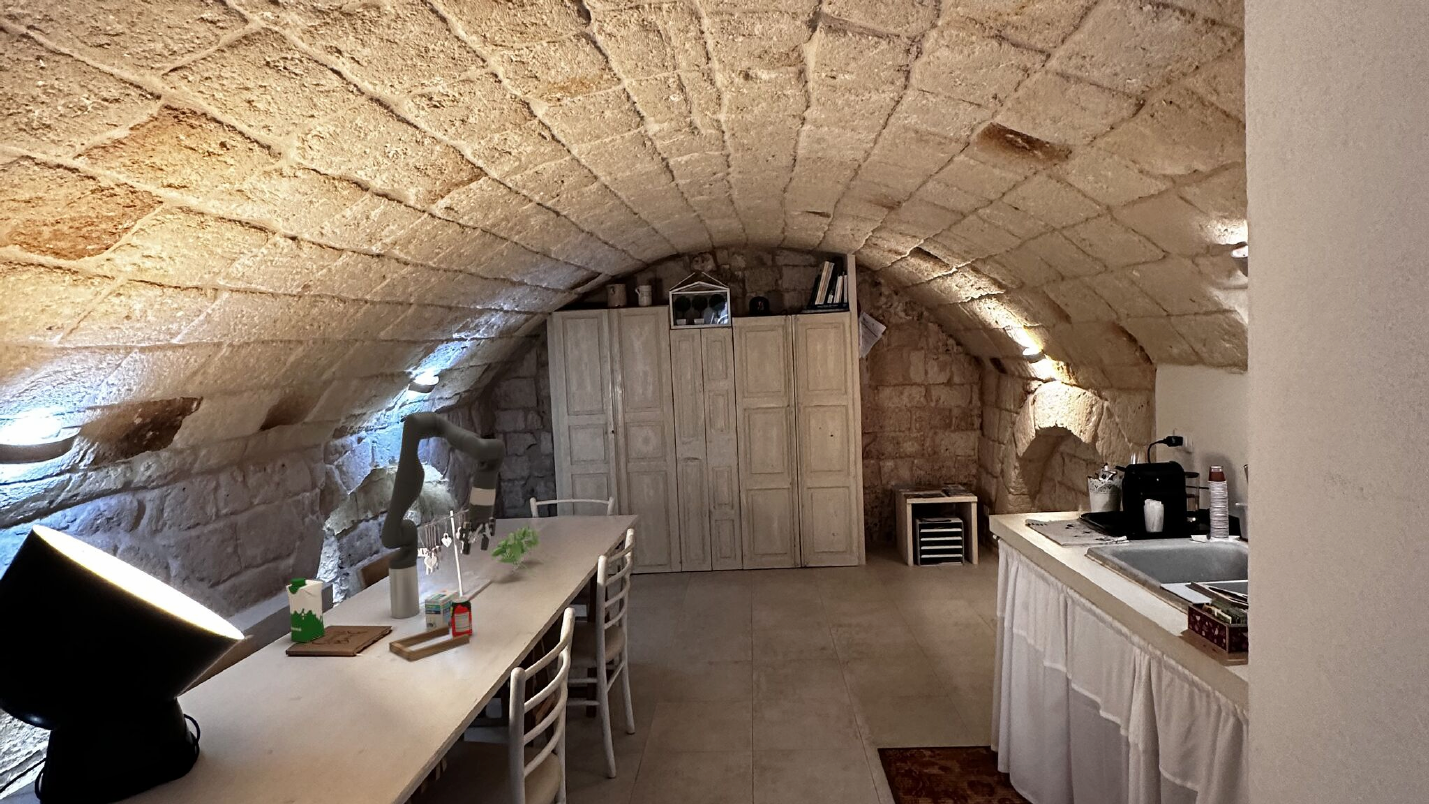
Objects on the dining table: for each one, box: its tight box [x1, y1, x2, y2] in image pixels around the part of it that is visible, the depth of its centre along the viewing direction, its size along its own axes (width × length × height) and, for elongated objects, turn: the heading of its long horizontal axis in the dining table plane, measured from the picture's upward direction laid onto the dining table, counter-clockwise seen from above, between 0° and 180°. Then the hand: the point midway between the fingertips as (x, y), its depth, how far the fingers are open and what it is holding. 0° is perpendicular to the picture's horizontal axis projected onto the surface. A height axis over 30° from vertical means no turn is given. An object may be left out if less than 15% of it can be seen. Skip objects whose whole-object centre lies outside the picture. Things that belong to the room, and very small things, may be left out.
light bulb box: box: [424, 589, 460, 632], centre depth 256 cm, size 11×7×11 cm, turn 168°
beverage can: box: [450, 596, 474, 638], centre depth 245 cm, size 6×6×12 cm
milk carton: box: [285, 577, 326, 643], centre depth 249 cm, size 9×9×20 cm
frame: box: [388, 625, 470, 662], centre depth 238 cm, size 14×19×2 cm
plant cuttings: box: [491, 524, 555, 579], centre depth 316 cm, size 35×17×22 cm
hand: (475, 552), depth 242 cm, fingers open, 8 cm apart
